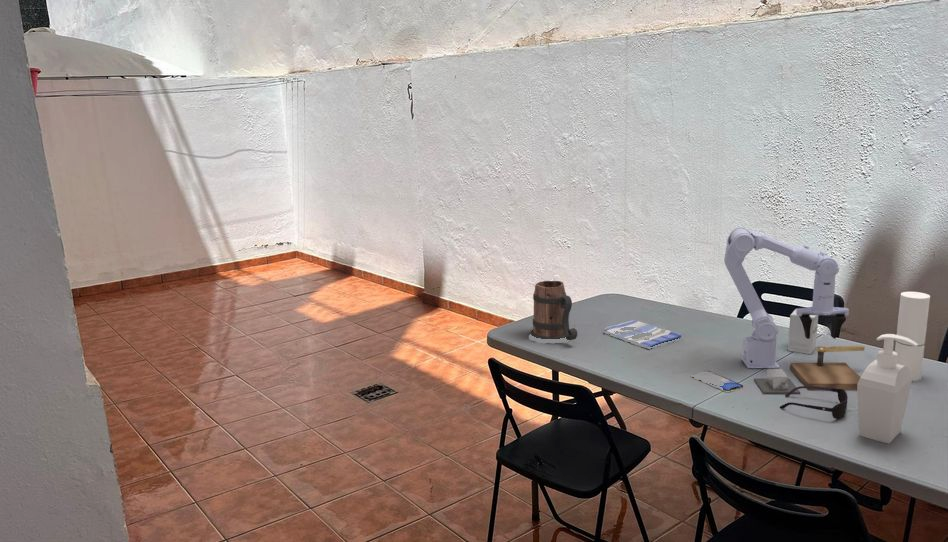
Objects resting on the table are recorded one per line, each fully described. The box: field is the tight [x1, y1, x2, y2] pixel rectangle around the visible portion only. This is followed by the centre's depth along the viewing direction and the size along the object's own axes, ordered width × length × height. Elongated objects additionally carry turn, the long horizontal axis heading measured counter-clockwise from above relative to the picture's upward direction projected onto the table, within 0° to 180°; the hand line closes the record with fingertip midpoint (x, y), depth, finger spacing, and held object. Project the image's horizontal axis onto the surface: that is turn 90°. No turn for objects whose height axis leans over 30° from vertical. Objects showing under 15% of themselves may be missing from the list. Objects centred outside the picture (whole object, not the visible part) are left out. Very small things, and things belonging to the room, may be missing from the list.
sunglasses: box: [779, 385, 848, 421], centre depth 188 cm, size 14×16×5 cm
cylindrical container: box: [894, 291, 931, 382], centre depth 202 cm, size 7×7×25 cm
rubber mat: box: [753, 377, 801, 395], centre depth 202 cm, size 10×10×1 cm
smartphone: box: [708, 370, 745, 391], centre depth 208 cm, size 8×15×1 cm, turn 27°
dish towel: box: [603, 318, 682, 347], centre depth 250 cm, size 17×24×3 cm
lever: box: [816, 345, 865, 354], centre depth 210 cm, size 14×2×1 cm, turn 88°
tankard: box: [529, 280, 578, 341], centre depth 249 cm, size 24×17×20 cm
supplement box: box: [787, 308, 819, 355], centre depth 228 cm, size 7×7×13 cm
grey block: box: [766, 368, 789, 390], centre depth 201 cm, size 4×6×4 cm, turn 173°
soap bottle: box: [856, 333, 918, 445], centre depth 169 cm, size 12×10×26 cm
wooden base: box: [789, 352, 861, 391], centre depth 205 cm, size 16×16×6 cm
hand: (820, 337), depth 213 cm, fingers open, 7 cm apart
